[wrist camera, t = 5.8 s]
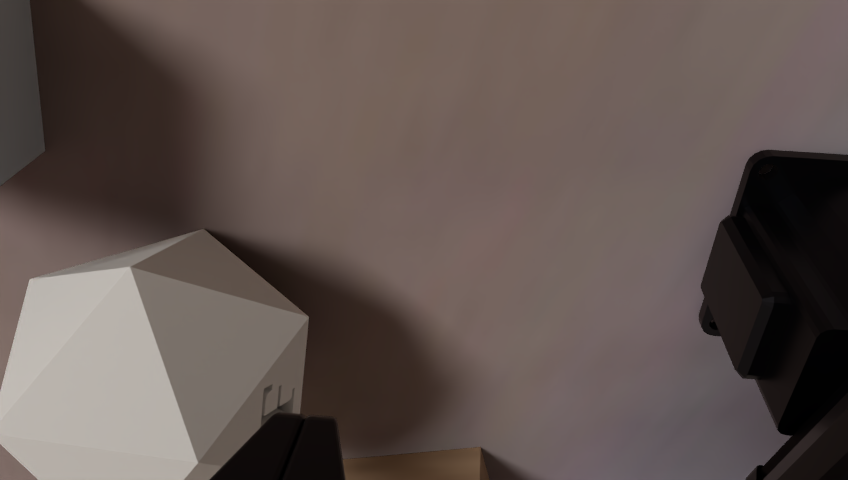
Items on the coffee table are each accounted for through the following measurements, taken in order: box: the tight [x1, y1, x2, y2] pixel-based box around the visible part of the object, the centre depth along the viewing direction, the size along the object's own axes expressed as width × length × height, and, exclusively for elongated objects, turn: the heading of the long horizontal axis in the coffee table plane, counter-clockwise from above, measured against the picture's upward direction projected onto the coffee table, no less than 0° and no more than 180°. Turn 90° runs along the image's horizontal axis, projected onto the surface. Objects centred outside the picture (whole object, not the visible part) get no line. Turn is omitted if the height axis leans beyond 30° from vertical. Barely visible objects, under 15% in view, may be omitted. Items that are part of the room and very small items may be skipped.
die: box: [0, 229, 309, 480], centre depth 21 cm, size 8×9×10 cm
